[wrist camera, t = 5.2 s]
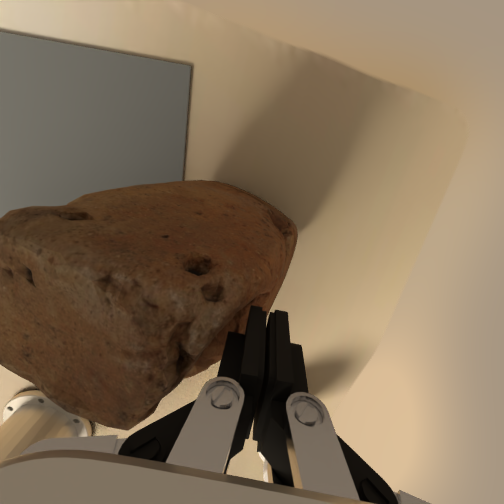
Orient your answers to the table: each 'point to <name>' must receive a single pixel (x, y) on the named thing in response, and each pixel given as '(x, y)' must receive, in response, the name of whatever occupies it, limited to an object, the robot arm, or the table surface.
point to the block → (134, 290)
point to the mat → (86, 121)
